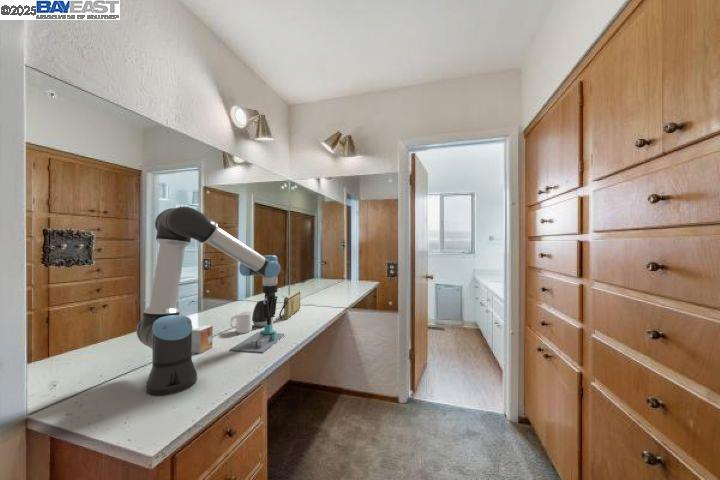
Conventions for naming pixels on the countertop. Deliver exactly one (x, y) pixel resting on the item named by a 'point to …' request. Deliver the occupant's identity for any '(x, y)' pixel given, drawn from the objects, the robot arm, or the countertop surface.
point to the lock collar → (268, 331)
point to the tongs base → (264, 340)
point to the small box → (201, 338)
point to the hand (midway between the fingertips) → (269, 330)
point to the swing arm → (254, 342)
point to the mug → (242, 322)
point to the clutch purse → (291, 304)
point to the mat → (247, 347)
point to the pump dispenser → (259, 315)
